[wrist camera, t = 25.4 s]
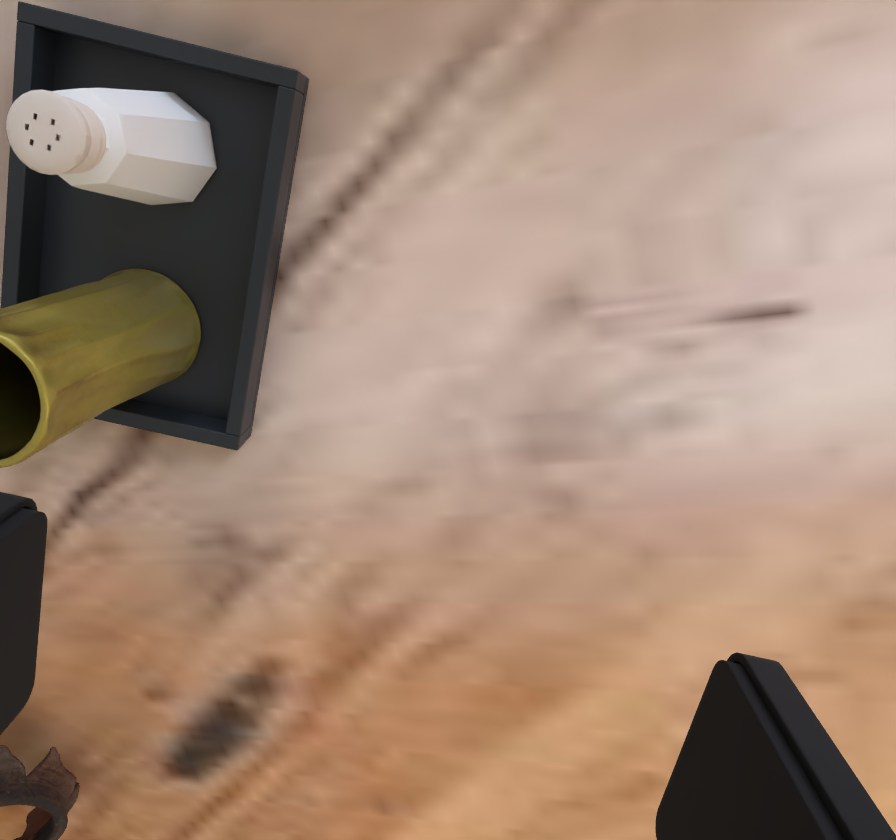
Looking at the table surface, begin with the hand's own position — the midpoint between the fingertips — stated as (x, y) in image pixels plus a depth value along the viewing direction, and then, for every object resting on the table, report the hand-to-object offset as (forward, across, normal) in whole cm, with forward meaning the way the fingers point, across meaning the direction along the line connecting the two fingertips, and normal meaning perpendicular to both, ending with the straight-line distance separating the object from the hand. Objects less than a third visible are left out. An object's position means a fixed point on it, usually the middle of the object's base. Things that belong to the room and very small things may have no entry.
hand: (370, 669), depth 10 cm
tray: (+30, +15, 0) cm, 34 cm away
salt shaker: (+30, +15, -5) cm, 34 cm away
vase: (+30, +15, +4) cm, 34 cm away
